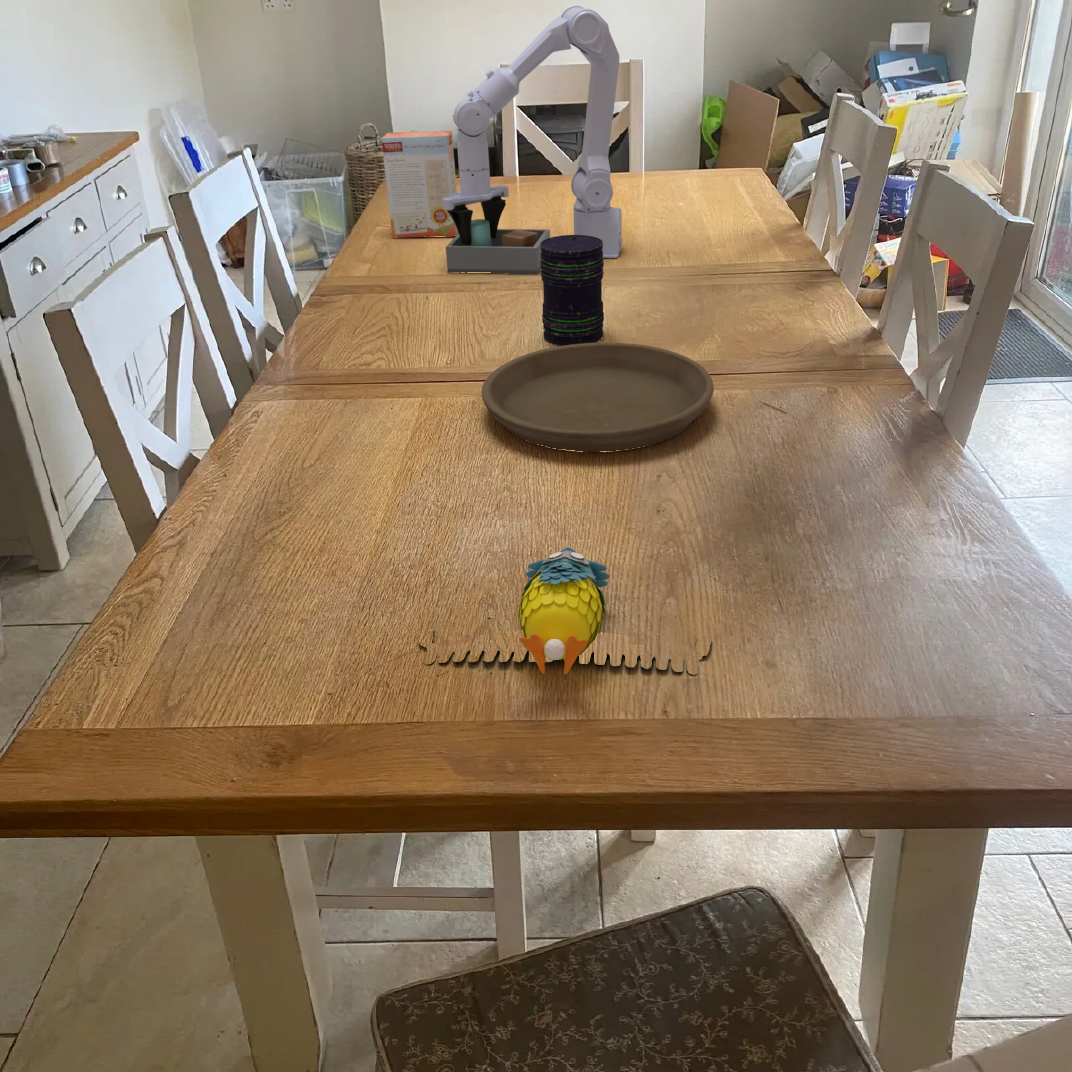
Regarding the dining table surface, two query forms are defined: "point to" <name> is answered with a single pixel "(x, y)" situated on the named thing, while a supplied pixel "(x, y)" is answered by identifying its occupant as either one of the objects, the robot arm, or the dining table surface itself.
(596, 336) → the storage jar
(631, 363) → the plant saucer
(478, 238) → the teal cylinder
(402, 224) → the cracker box
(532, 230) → the tote
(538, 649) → the owl figurine
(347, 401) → the dining table surface
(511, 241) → the walnut block
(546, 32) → the robot arm
